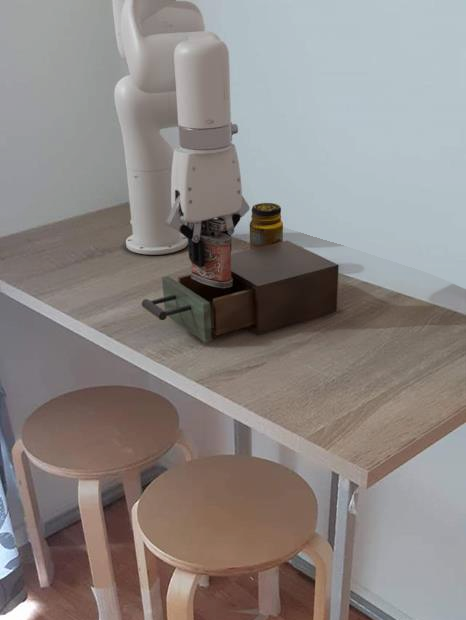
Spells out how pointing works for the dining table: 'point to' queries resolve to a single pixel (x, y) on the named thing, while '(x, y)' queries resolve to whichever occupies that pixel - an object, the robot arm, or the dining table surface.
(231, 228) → the robot arm
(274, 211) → the condiment
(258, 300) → the cabinet
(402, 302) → the dining table surface
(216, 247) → the lighter
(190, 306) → the drawer
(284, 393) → the dining table surface
